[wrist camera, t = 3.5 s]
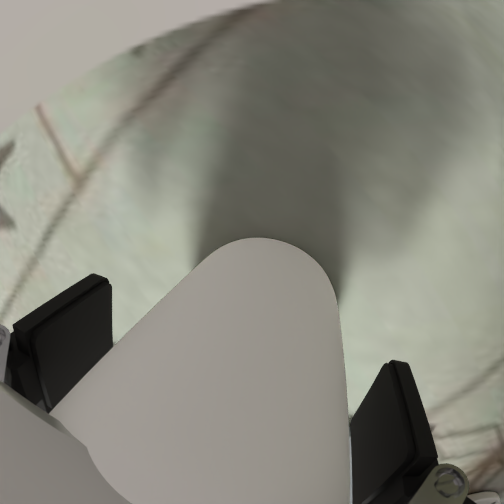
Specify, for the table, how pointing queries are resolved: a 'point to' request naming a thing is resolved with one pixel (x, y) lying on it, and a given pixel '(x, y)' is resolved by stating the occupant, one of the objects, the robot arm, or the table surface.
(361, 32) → the table surface
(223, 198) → the table surface
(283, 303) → the can
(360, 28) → the table surface
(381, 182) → the table surface
